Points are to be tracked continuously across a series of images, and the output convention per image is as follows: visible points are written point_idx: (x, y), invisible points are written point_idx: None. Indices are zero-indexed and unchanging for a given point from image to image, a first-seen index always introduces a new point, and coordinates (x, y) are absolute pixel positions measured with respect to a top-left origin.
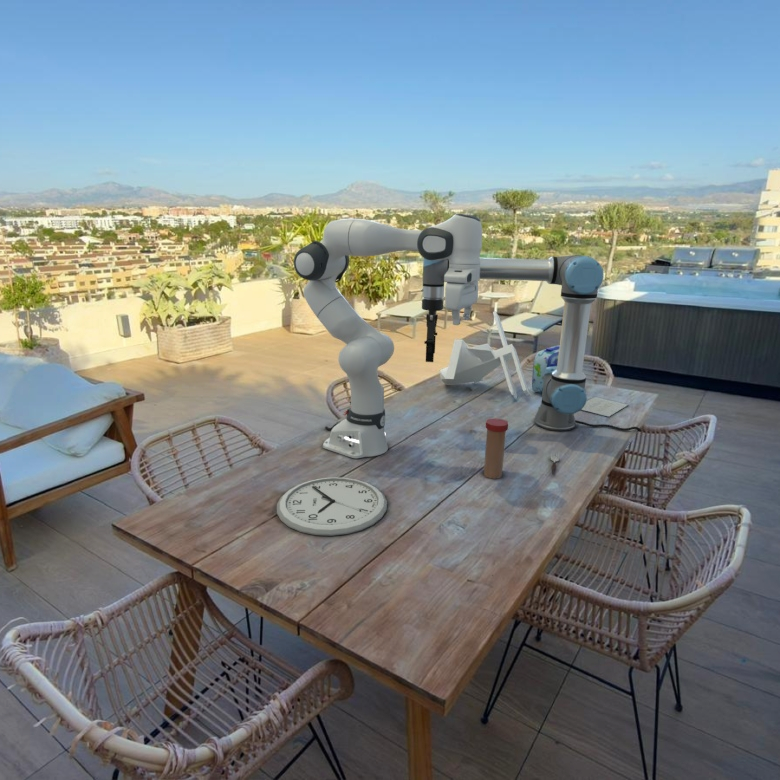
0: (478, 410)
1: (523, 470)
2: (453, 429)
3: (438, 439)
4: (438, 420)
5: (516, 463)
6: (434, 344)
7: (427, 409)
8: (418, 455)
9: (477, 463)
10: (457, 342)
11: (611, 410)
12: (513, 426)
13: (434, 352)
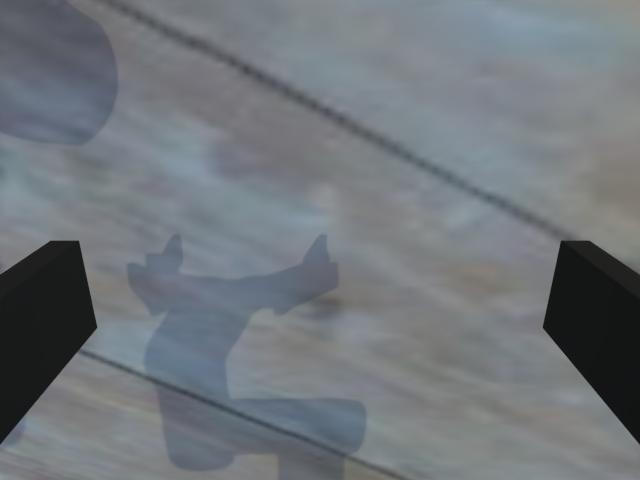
0: None
1: (46, 425)
2: (335, 240)
3: (215, 184)
4: (435, 177)
5: (87, 413)
6: (616, 402)
7: (588, 119)
8: (30, 111)
9: None
10: None
11: None
12: (394, 431)
13: (549, 330)
